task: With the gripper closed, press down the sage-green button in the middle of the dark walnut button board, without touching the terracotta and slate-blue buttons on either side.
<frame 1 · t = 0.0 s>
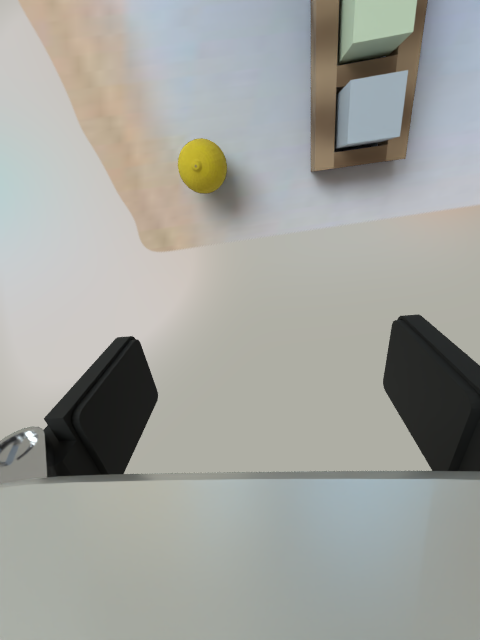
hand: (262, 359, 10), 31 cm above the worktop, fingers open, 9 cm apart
button sage: (374, 12, 24), point 4 cm above the worktop, slide at 0.0 cm
button slate: (366, 114, 28), point 4 cm above the worktop, slide at 0.0 cm
lemon: (209, 168, 35), on the worktop
button board: (359, 34, 28), on the worktop
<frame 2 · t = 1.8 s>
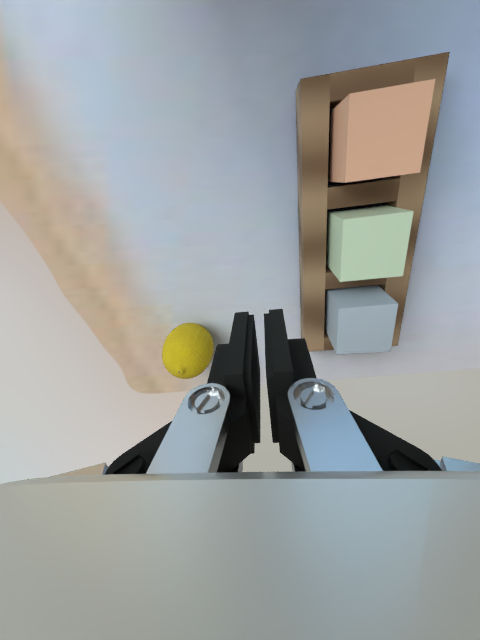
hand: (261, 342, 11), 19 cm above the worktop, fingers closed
button terracotta: (372, 139, 20), point 4 cm above the worktop, slide at 0.0 cm
button sage: (363, 242, 23), point 4 cm above the worktop, slide at 0.0 cm
button slate: (356, 318, 27), point 4 cm above the worktop, slide at 0.0 cm
lemon: (196, 330, 34), on the worktop
button board: (349, 233, 27), on the worktop
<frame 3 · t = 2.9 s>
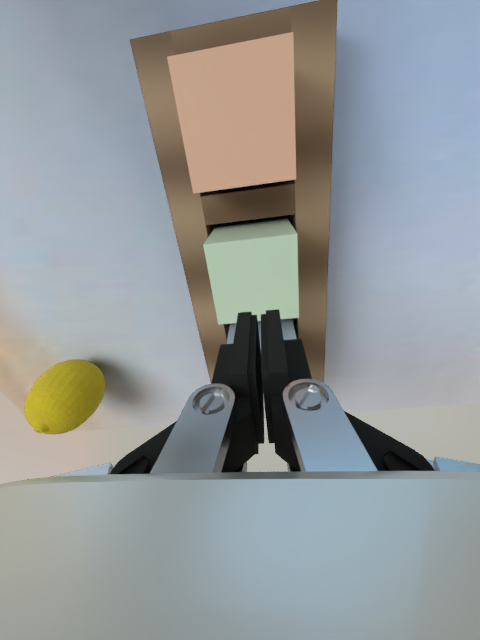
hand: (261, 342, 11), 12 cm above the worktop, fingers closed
button terracotta: (239, 130, 14), point 4 cm above the worktop, slide at 0.0 cm
button sage: (254, 269, 17), point 4 cm above the worktop, slide at 0.0 cm
button slate: (263, 360, 21), point 4 cm above the worktop, slide at 0.0 cm
lemon: (93, 364, 28), on the worktop
button board: (254, 252, 21), on the worktop
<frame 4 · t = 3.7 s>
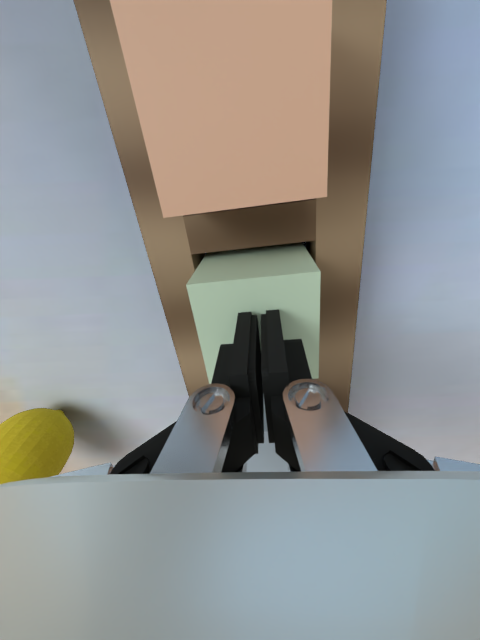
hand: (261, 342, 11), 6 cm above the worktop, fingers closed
button terracotta: (237, 121, 9), point 4 cm above the worktop, slide at 0.0 cm
button sage: (257, 308, 13), point 4 cm above the worktop, slide at 0.7 cm, touching gripper
button slate: (269, 423, 16), point 4 cm above the worktop, slide at 0.0 cm
lemon: (62, 409, 23), on the worktop
button board: (257, 283, 16), on the worktop
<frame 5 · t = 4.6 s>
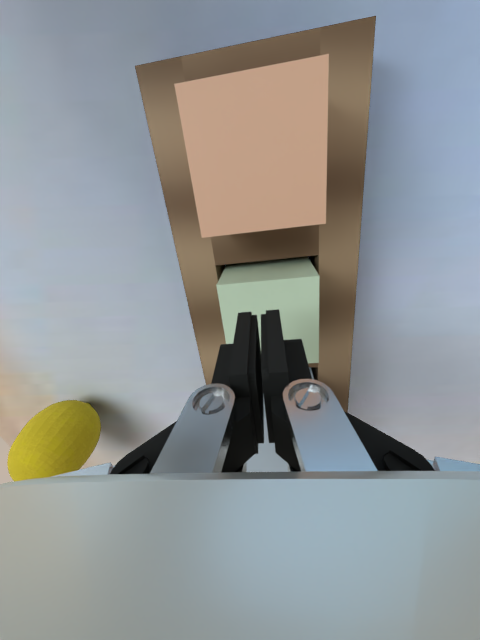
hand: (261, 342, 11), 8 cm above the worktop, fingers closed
button terracotta: (257, 164, 12), point 4 cm above the worktop, slide at 0.0 cm
button sage: (269, 307, 16), point 3 cm above the worktop, slide at 1.3 cm
button slate: (277, 413, 18), point 4 cm above the worktop, slide at 0.0 cm
lemon: (89, 403, 26), on the worktop
button board: (268, 290, 19), on the worktop
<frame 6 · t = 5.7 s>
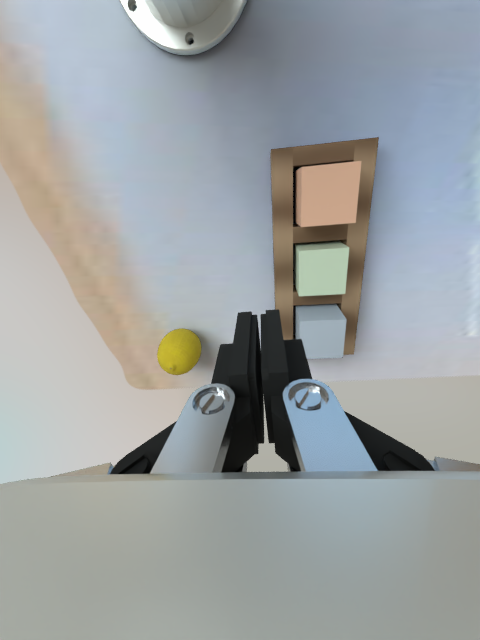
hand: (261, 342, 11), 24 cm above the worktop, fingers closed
button terracotta: (323, 195, 26), point 4 cm above the worktop, slide at 0.0 cm
button sage: (318, 267, 31), point 3 cm above the worktop, slide at 1.3 cm
button slate: (317, 329, 33), point 4 cm above the worktop, slide at 0.0 cm
lemon: (188, 335, 40), on the worktop
button board: (314, 261, 33), on the worktop
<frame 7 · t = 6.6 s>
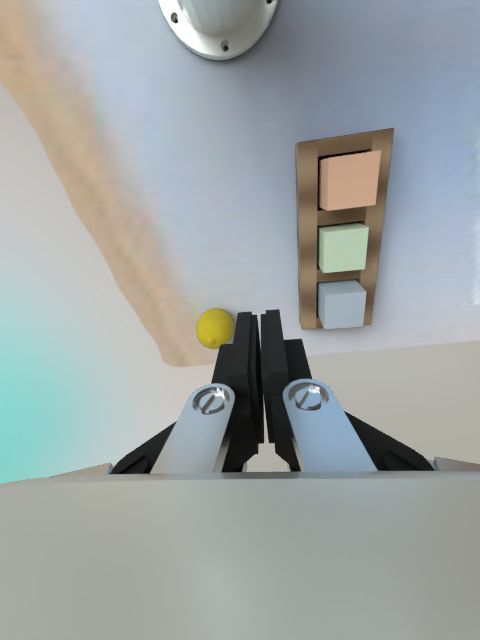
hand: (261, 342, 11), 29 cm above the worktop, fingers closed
button terracotta: (345, 181, 30), point 4 cm above the worktop, slide at 0.0 cm
button sage: (339, 246, 34), point 3 cm above the worktop, slide at 1.3 cm
button slate: (339, 303, 37), point 4 cm above the worktop, slide at 0.0 cm
lemon: (218, 315, 44), on the worktop
button board: (334, 241, 37), on the worktop
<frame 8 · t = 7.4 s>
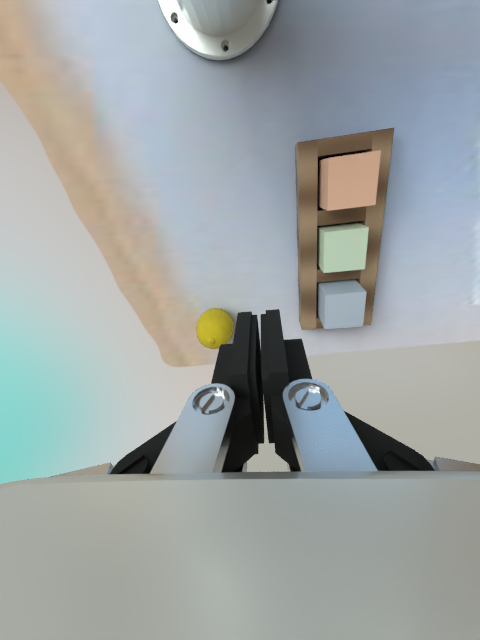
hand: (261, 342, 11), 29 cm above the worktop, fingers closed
button terracotta: (346, 181, 30), point 4 cm above the worktop, slide at 0.0 cm
button sage: (339, 246, 34), point 3 cm above the worktop, slide at 1.3 cm
button slate: (339, 303, 37), point 4 cm above the worktop, slide at 0.0 cm
lemon: (218, 315, 44), on the worktop
button board: (334, 241, 37), on the worktop
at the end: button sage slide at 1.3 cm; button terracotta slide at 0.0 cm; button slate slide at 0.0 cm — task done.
